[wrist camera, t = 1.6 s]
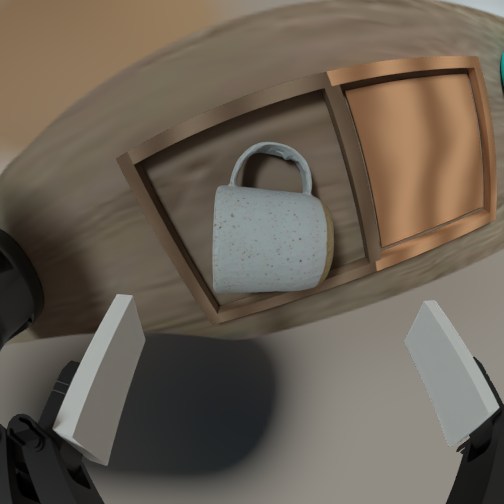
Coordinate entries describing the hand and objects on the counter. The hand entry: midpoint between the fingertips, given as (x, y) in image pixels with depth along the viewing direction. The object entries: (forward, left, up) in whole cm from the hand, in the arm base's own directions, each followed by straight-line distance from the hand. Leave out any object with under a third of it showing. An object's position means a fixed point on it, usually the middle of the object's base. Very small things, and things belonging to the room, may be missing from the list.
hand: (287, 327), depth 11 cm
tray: (+7, +3, -13) cm, 16 cm away
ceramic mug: (0, 0, -14) cm, 14 cm away
